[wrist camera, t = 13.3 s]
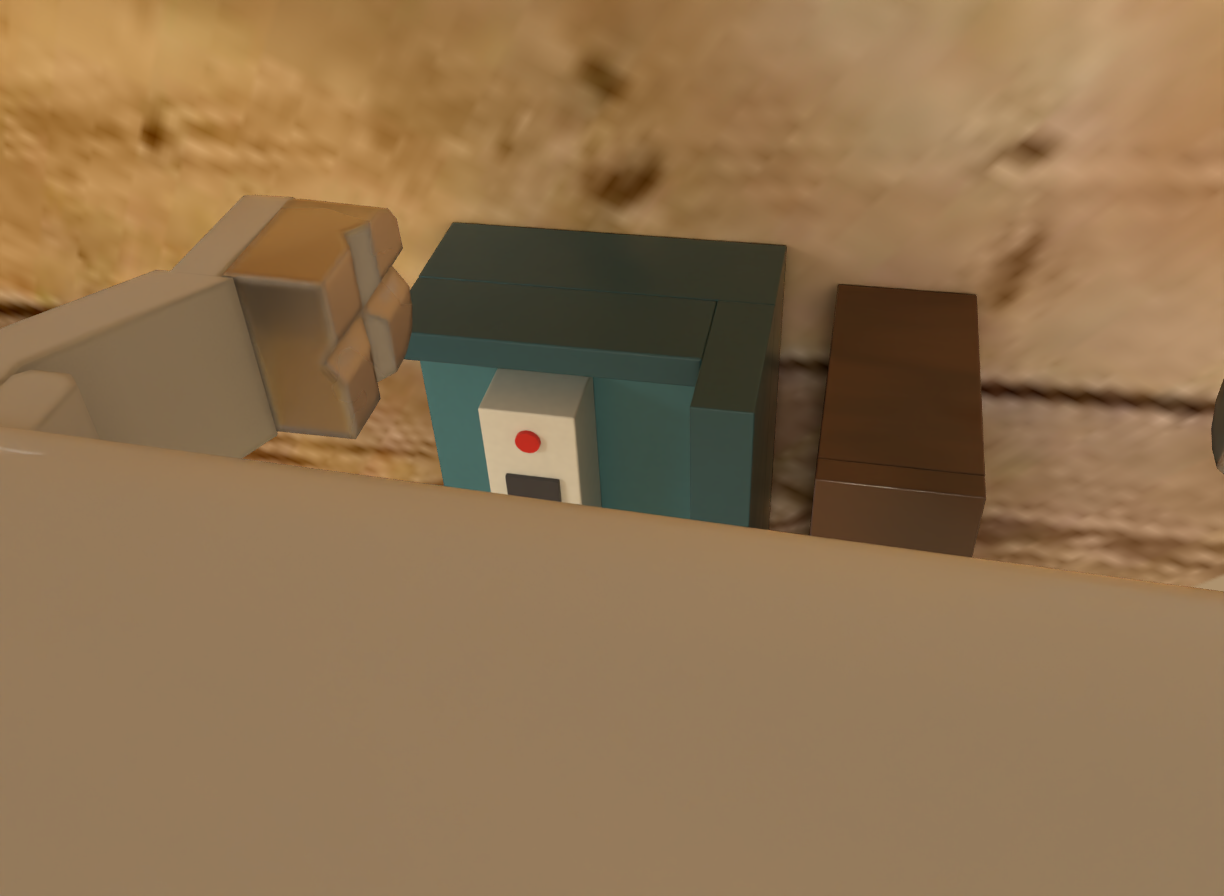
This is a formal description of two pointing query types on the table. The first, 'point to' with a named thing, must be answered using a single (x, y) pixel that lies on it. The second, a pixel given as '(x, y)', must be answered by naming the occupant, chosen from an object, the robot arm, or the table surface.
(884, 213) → the table surface
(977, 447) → the brown wooden box
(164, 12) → the table surface
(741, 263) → the teal armchair
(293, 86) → the table surface
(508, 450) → the remote
